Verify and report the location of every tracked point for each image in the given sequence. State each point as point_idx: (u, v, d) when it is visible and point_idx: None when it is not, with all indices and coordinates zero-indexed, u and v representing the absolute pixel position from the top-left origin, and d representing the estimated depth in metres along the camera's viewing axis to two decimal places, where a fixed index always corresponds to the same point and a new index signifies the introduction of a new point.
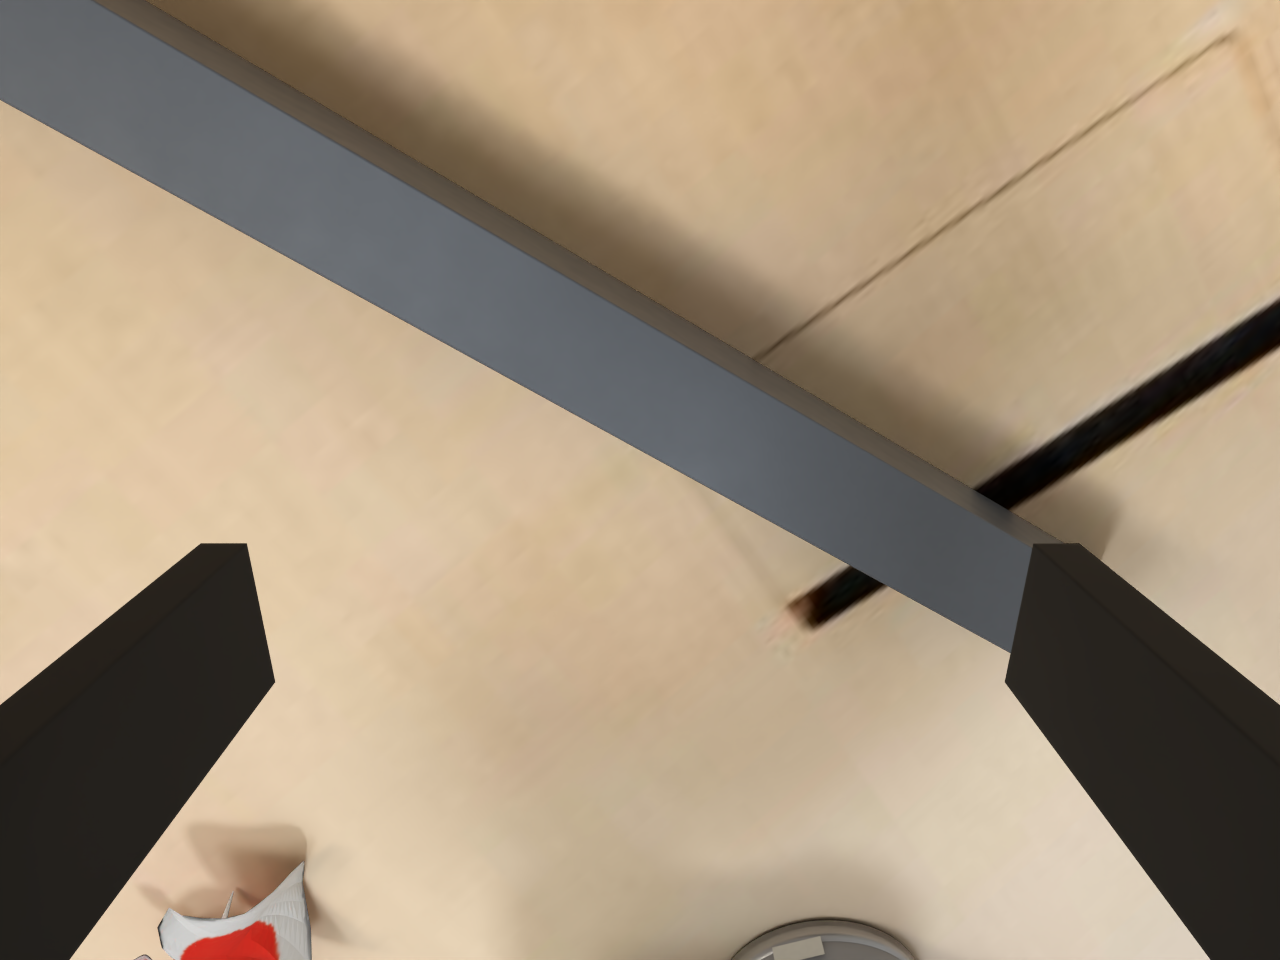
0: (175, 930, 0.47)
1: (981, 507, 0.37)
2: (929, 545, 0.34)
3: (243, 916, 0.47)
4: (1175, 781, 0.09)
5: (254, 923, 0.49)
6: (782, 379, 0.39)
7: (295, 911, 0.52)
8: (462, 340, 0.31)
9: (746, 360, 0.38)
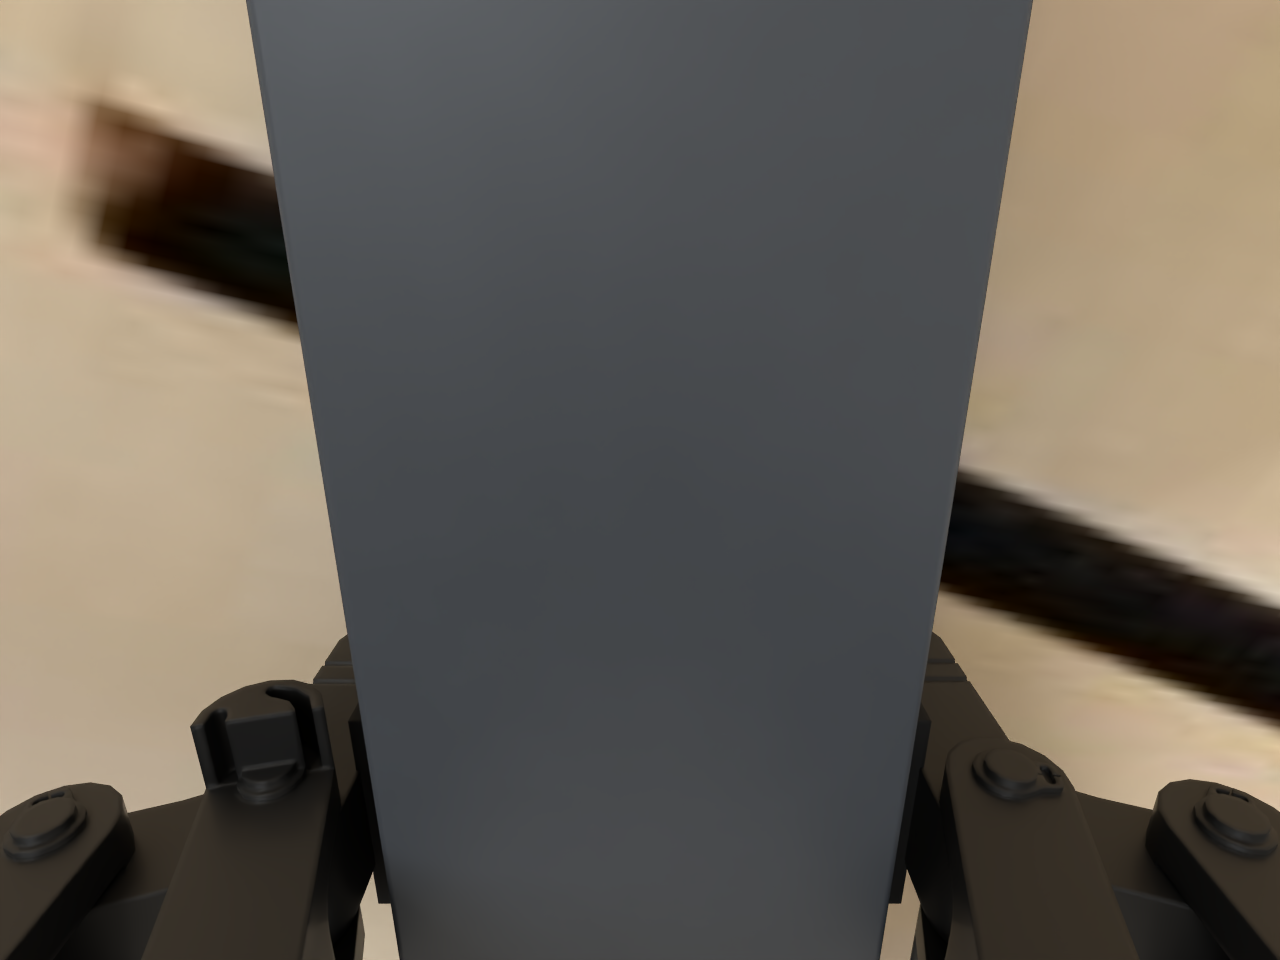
0: None
1: None
2: None
3: None
4: None
5: None
6: None
7: None
8: None
9: None
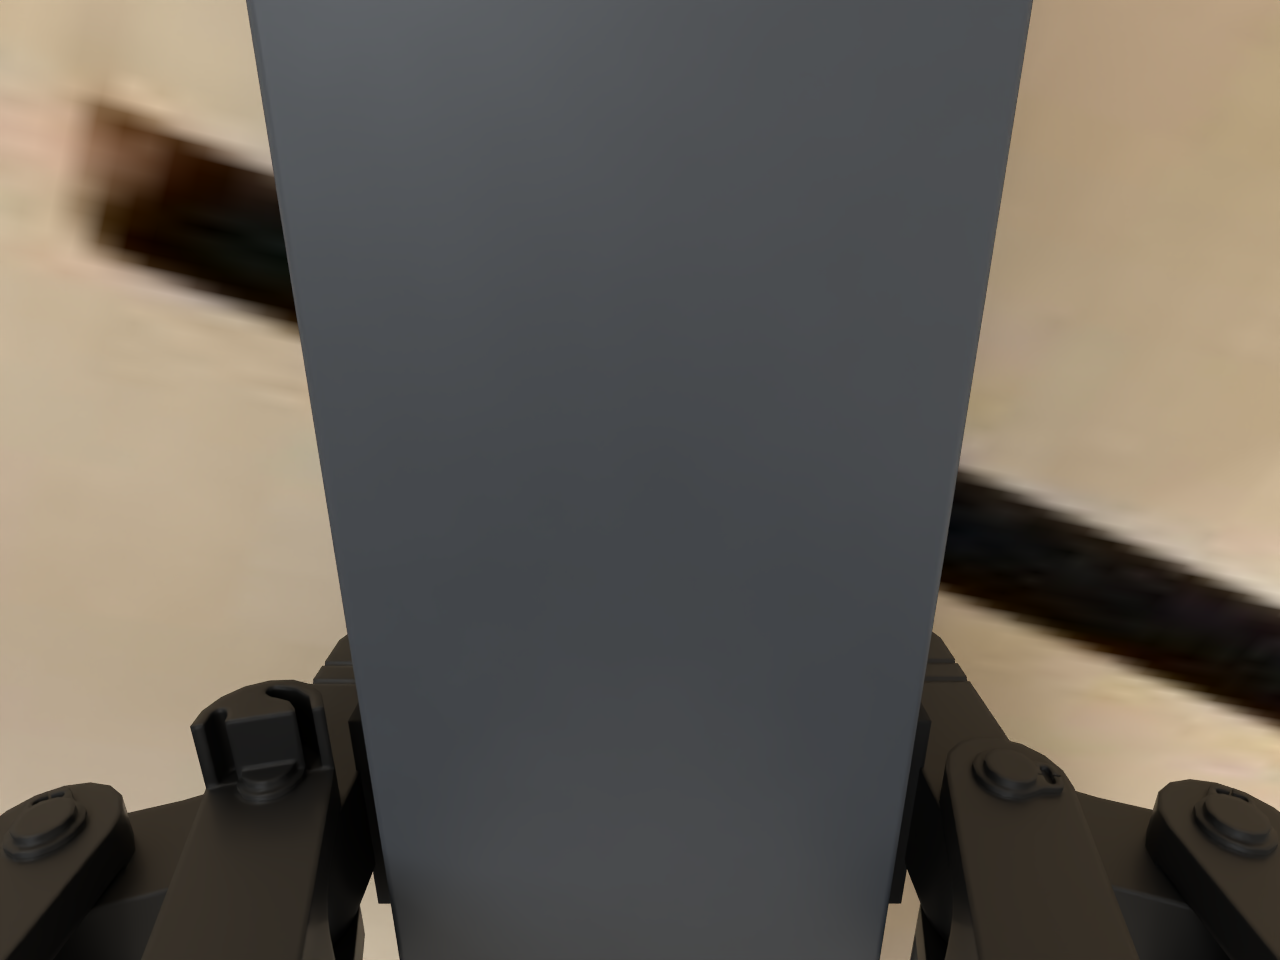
0: None
1: None
2: None
3: None
4: None
5: None
6: None
7: None
8: None
9: None
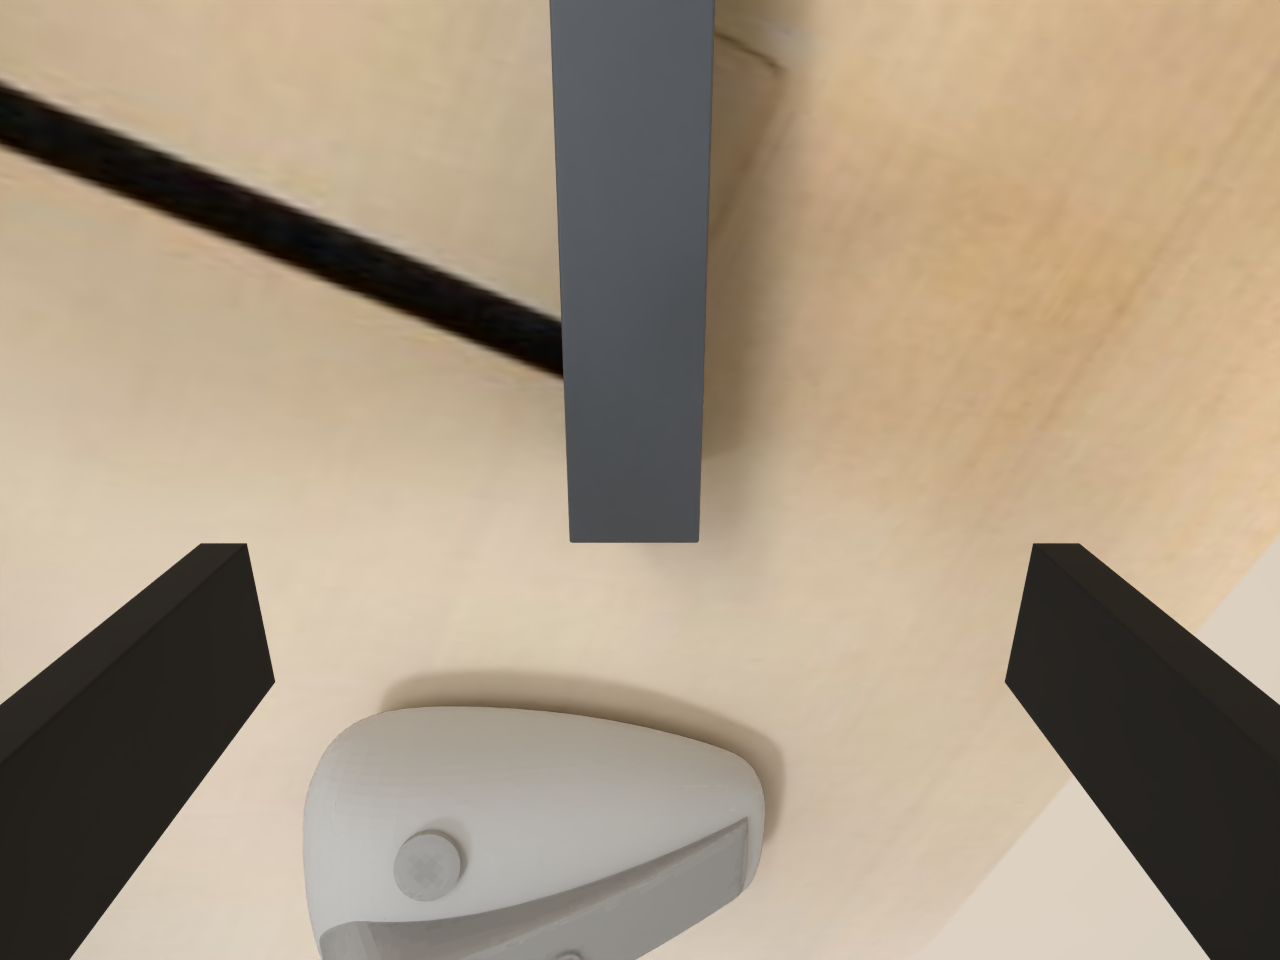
0: None
1: None
2: (638, 118, 0.23)
3: None
4: (1175, 782, 0.09)
5: None
6: None
7: None
8: None
9: None
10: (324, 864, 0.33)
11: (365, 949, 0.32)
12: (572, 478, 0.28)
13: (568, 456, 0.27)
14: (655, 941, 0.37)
